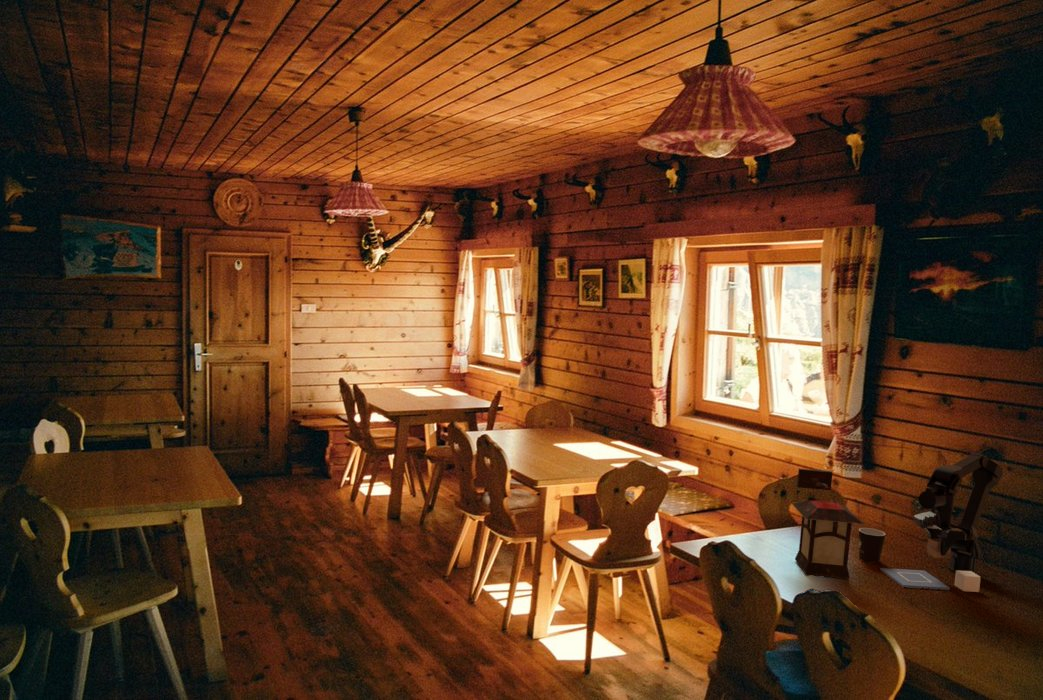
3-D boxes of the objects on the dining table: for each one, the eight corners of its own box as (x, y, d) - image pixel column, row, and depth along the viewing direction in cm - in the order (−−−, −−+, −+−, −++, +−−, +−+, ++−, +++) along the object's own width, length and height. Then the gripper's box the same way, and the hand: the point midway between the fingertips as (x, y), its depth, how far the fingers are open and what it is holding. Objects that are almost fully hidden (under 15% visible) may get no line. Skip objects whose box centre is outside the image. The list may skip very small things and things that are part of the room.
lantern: (834, 556, 275) (843, 472, 272) (859, 583, 249) (868, 491, 246) (780, 551, 276) (788, 467, 274) (799, 577, 251) (808, 485, 248)
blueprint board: (924, 572, 263) (924, 570, 263) (949, 590, 248) (949, 587, 248) (880, 570, 263) (880, 567, 263) (902, 587, 248) (903, 584, 248)
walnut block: (941, 553, 260) (942, 538, 260) (949, 558, 255) (951, 543, 255) (926, 552, 260) (928, 537, 260) (934, 557, 255) (936, 542, 255)
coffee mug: (879, 566, 267) (882, 537, 266) (852, 559, 272) (855, 531, 271) (887, 558, 276) (890, 530, 275) (861, 551, 281) (864, 524, 281)
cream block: (969, 586, 253) (971, 571, 253) (978, 592, 248) (980, 576, 248) (954, 585, 253) (956, 570, 253) (963, 591, 248) (965, 576, 248)
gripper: (904, 497, 265) (899, 541, 267) (935, 512, 247) (929, 560, 248) (937, 499, 266) (932, 543, 267) (969, 515, 247) (964, 563, 248)
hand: (938, 552), depth 258 cm, fingers closed on walnut block, 5 cm apart
